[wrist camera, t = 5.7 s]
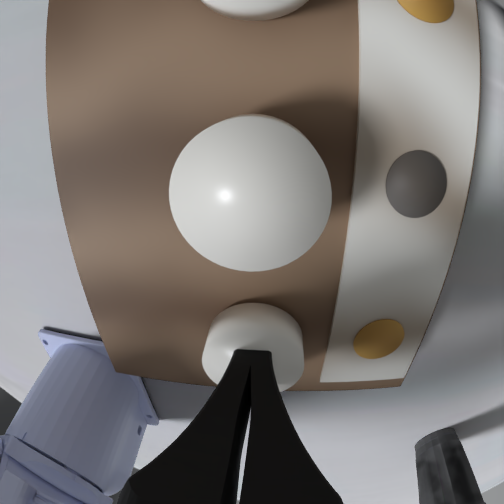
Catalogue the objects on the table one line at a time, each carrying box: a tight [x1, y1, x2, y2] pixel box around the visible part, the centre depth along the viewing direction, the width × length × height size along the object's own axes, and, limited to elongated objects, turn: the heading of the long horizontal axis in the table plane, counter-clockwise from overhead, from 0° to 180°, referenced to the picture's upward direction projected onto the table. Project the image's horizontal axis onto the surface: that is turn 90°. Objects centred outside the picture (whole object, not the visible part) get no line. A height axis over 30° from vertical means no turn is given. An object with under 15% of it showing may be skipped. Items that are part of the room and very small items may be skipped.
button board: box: [46, 0, 481, 391], centre depth 11 cm, size 22×16×3 cm
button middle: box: [169, 114, 332, 272], centre depth 8 cm, size 4×4×2 cm
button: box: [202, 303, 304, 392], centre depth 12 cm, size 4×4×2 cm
